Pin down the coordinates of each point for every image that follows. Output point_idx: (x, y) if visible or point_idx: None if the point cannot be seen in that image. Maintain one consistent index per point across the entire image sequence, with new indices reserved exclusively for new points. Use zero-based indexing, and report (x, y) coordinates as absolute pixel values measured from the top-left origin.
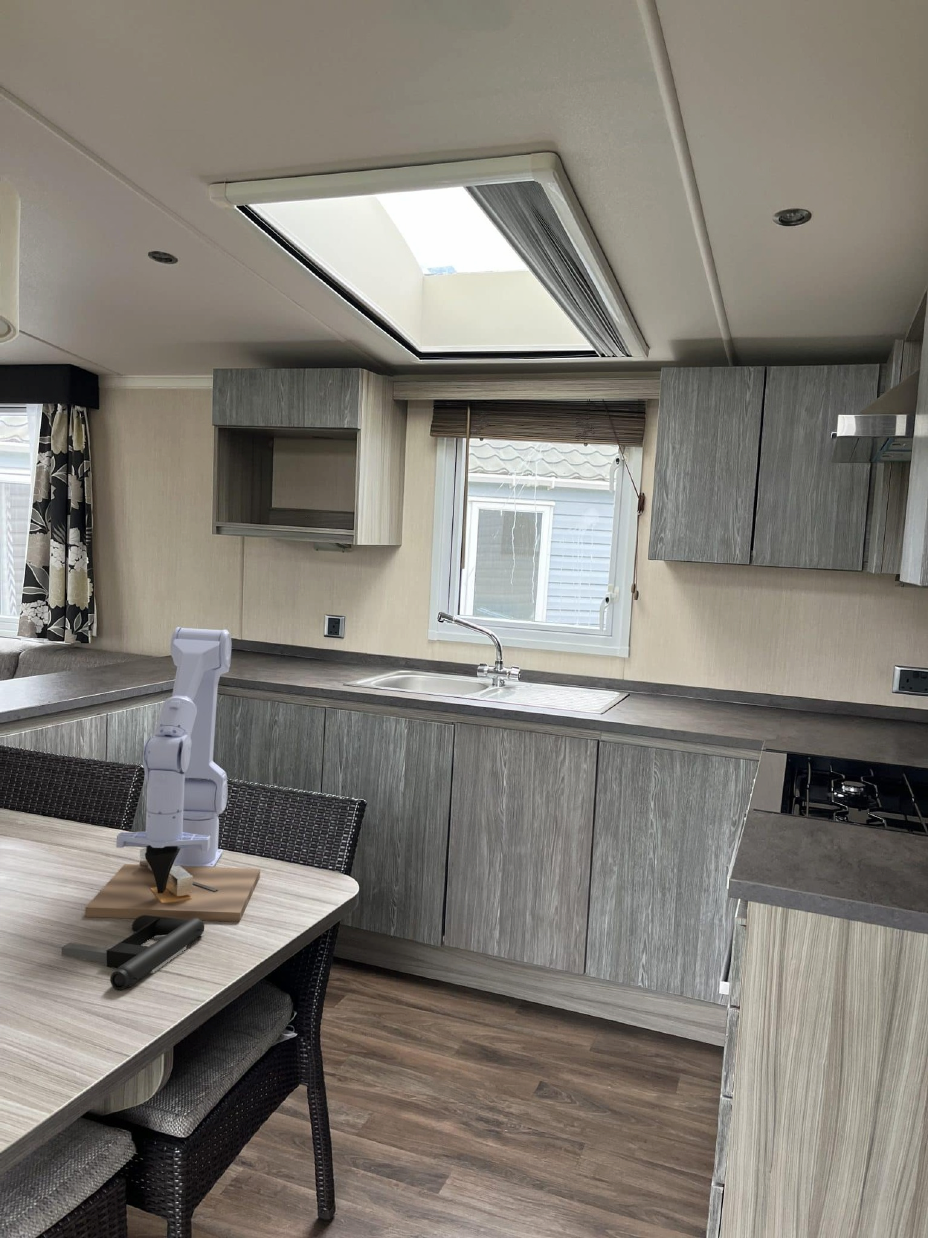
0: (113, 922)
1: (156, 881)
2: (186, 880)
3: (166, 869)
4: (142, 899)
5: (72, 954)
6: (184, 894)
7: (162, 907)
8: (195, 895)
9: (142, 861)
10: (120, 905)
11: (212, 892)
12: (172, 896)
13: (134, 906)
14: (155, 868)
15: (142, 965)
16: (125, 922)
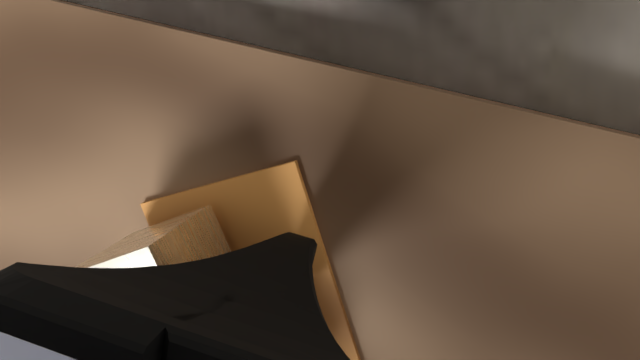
0: (588, 51)
1: (305, 263)
2: (105, 258)
3: (174, 267)
4: (414, 247)
5: None
6: (168, 220)
7: (290, 96)
8: None
9: None
10: (558, 173)
11: None
12: (242, 243)
13: (464, 143)
14: (280, 306)
15: None
16: (512, 41)
